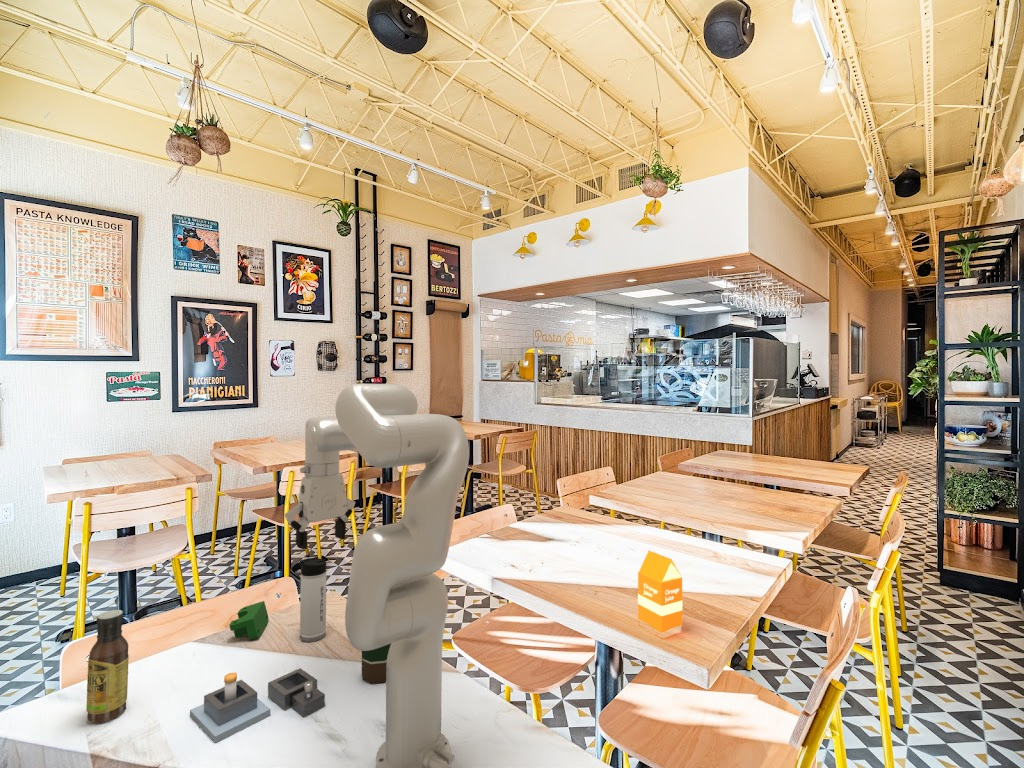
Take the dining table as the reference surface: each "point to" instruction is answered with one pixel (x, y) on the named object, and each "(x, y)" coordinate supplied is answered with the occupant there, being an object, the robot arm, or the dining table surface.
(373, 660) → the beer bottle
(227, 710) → the end link
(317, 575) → the travel mug
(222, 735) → the keeper
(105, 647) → the sauce bottle
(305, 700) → the knobbed metal block
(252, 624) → the green mounting bracket
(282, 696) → the link
